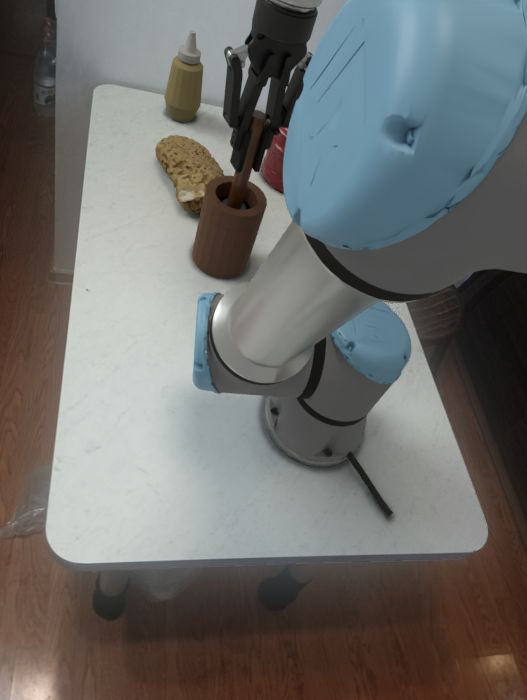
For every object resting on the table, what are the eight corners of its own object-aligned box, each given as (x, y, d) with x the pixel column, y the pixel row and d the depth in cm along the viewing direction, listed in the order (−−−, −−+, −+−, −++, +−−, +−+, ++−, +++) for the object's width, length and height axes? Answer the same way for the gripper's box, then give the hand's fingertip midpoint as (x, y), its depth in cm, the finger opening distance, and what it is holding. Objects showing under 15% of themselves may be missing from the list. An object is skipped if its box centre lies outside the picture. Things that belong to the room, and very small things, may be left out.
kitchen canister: (248, 166, 116) (270, 88, 103) (290, 155, 124) (316, 80, 110) (287, 203, 112) (315, 126, 99) (328, 189, 119) (360, 115, 106)
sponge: (229, 224, 105) (218, 146, 113) (231, 198, 98) (220, 116, 106) (160, 227, 103) (155, 148, 111) (157, 200, 96) (152, 117, 104)
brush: (242, 235, 93) (277, 117, 76) (228, 244, 91) (261, 125, 74) (224, 222, 94) (255, 103, 77) (210, 231, 91) (238, 111, 75)
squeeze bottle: (192, 129, 119) (206, 47, 106) (157, 117, 119) (167, 32, 105) (202, 113, 125) (217, 31, 111) (168, 100, 124) (179, 17, 110)
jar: (257, 261, 99) (278, 200, 88) (224, 287, 93) (242, 225, 82) (215, 231, 101) (231, 168, 90) (180, 255, 95) (192, 190, 84)
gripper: (329, -10, 69) (278, 150, 87) (218, -25, 63) (188, 152, 80) (356, 18, 66) (298, 180, 84) (243, 6, 59) (205, 184, 77)
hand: (244, 166), depth 82 cm, fingers closed on brush, 2 cm apart
